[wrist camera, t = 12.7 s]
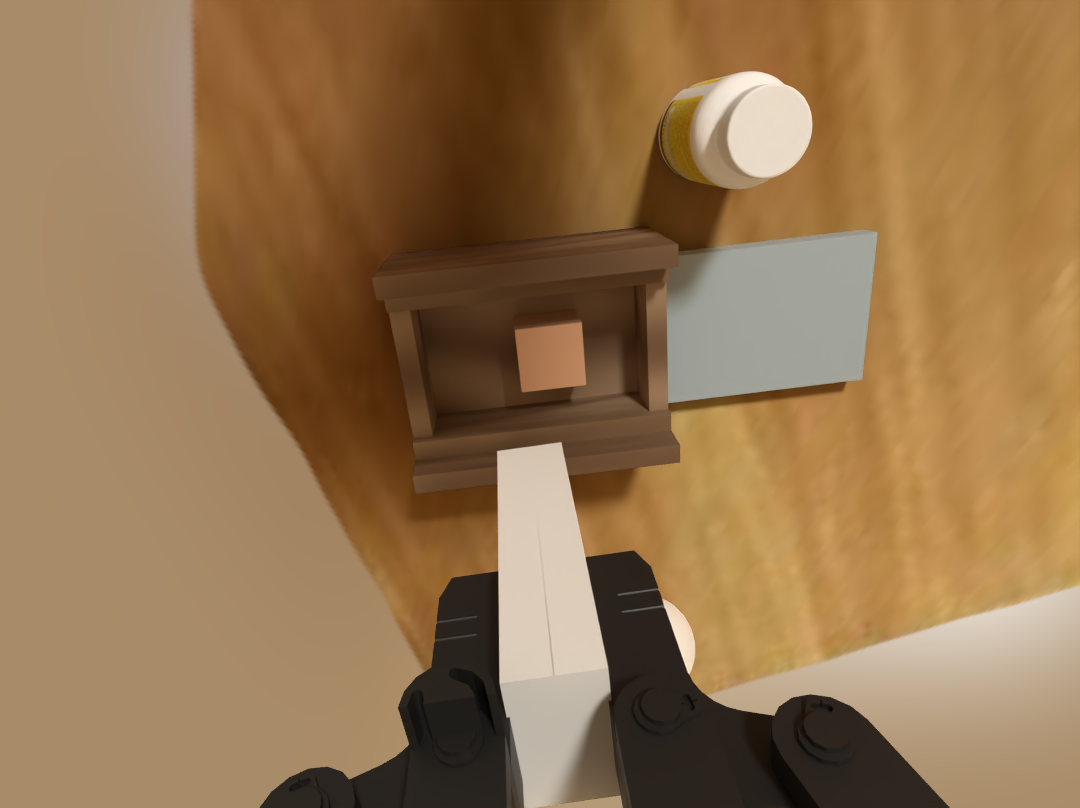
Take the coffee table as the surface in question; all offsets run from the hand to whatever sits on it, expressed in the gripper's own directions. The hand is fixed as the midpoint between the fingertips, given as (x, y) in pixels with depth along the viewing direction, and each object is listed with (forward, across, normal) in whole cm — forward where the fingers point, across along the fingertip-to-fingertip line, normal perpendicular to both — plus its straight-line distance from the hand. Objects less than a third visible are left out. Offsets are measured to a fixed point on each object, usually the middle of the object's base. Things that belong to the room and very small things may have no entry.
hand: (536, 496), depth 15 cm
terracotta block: (+26, +2, -5) cm, 26 cm away
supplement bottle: (+27, +12, +6) cm, 31 cm away
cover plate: (+27, +16, -6) cm, 32 cm away
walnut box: (+27, +1, -5) cm, 27 cm away
